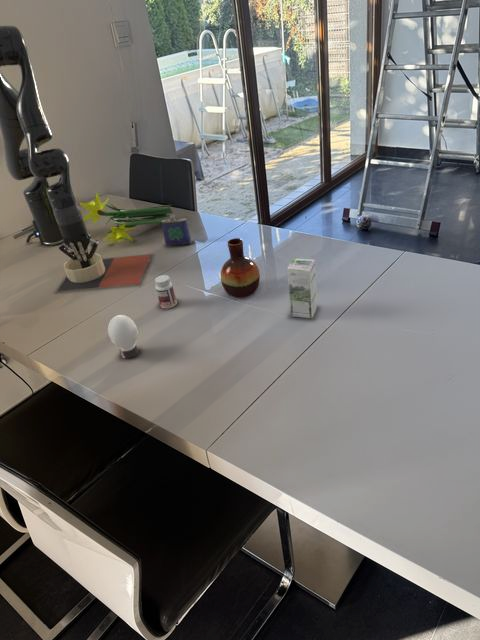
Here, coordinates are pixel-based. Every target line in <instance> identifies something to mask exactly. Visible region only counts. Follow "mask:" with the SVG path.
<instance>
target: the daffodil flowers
mask: <svg viewBox="0 0 480 640" xmlns="http://www.w3.org/2000/svg"><path fill="white" fill-rule="evenodd" d="M109 200H110V197H108V198H107V199H106V200H105V201H103V202H101V199H100V196H99V193H98V192H97V191H95V199H94V201H89V202H88V203H86V202H80V201H79V202H78V203H79V205H80V206H81V207H82V208H84V209H85V210H88V211H90V212H88V213H87V214H86V215H85V216H84V217H83V220H84V221H88V220H90V219H92V224H93V225H95V224H96V223H97V222H98V221H99V220H100V216H103V217H109V218H108V221H107V222H106V223H105V225H107V224H108V223H110V221H112V222H113V223H114V224H115V225H113V226H111V227H109V229H110V231H108V234H107V235H106V236H105V237H104V238H103V239H102V242H104V241H106V240H108V239H110V241H109V242H110V244H109V245H113V244H114V243H115V242H116V241H117V242H119V243H120V242H124V241H125V239H127V240H129V241H130V242H134V239H133V238H132V237H131V236H130V235H129V234H128V233H127V232H129V231H132V230H137V226H145V225H159V224H161V221H162V220H165V219H167V220H168V219H171V215H170V214H173V210H172V208H171V207H172V204H165V205H156V206H150V207H149V206H148V207H142V208H132V209H123V208H118V207H117V206H115V205H113V204H111V205H108V204H107V203H108V201H109ZM104 207H107V208H109V209H111V210H113V211H109V212H108V211H106V210H105V209H104Z"/></svg>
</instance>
